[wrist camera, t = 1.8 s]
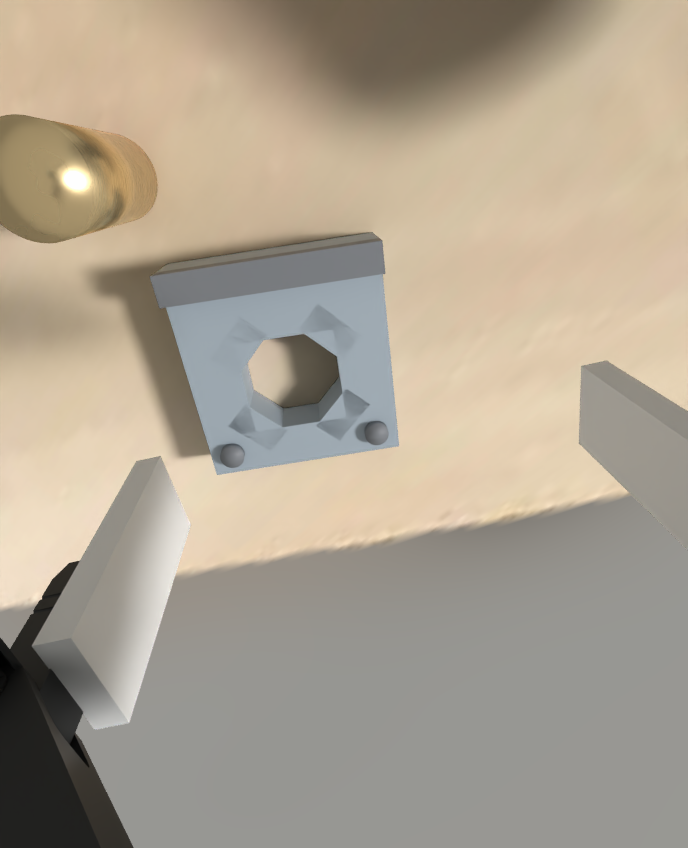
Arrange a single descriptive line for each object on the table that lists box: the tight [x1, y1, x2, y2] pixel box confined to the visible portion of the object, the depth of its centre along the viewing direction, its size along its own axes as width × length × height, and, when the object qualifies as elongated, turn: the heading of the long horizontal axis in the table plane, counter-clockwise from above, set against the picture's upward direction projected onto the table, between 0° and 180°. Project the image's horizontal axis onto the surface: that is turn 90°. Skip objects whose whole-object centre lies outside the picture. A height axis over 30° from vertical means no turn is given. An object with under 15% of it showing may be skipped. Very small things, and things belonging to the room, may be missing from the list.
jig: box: [150, 232, 399, 475], centre depth 32 cm, size 14×13×4 cm
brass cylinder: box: [0, 114, 157, 243], centre depth 24 cm, size 5×5×10 cm
